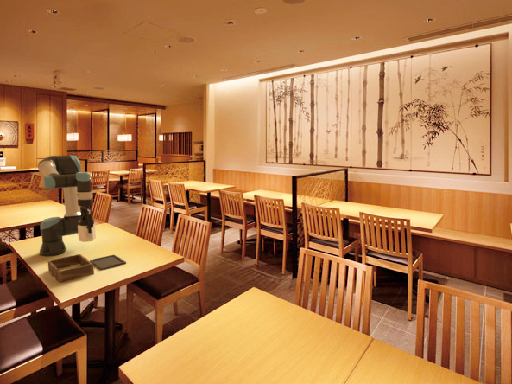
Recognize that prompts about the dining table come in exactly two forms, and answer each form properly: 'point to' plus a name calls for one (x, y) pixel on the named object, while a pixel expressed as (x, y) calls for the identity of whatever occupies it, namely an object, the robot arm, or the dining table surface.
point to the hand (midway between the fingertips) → (87, 236)
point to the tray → (107, 262)
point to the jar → (85, 231)
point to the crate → (72, 273)
